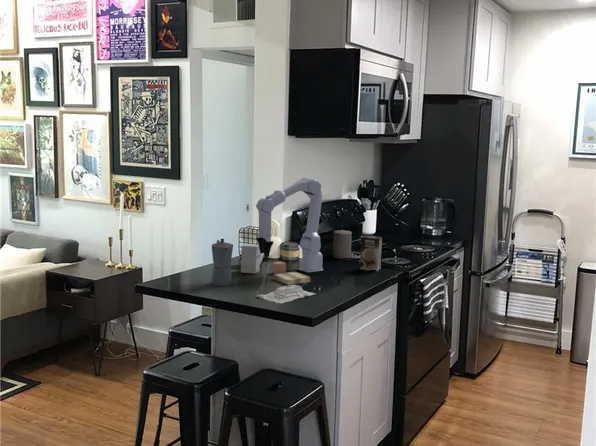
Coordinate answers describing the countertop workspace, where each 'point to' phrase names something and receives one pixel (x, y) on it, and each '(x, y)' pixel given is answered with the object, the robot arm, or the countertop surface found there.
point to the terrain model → (285, 294)
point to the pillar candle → (342, 244)
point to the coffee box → (370, 253)
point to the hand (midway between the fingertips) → (264, 254)
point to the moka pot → (222, 263)
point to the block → (279, 267)
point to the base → (291, 278)
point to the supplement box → (250, 258)
